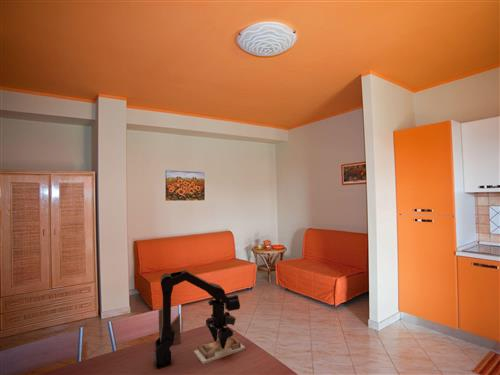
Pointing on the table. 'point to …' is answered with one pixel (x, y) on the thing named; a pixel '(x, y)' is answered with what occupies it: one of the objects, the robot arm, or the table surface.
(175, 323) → the wooden block
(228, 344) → the slat
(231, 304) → the robot arm
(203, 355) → the slat board
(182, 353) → the table surface
